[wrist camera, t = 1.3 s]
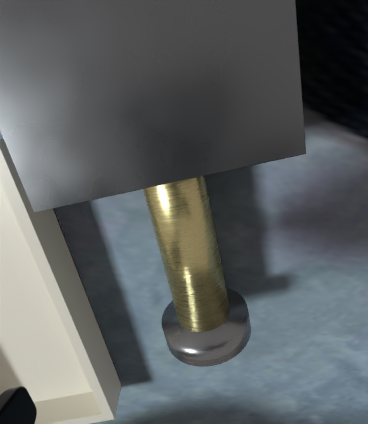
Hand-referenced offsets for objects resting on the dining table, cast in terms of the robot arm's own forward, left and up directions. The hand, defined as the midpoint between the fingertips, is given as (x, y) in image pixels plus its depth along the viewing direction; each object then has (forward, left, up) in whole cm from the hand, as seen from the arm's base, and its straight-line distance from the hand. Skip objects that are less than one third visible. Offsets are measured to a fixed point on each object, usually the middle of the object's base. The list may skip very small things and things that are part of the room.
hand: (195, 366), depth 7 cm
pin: (+2, 0, -9) cm, 9 cm away
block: (+8, 0, -9) cm, 12 cm away
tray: (-2, +11, -9) cm, 14 cm away
